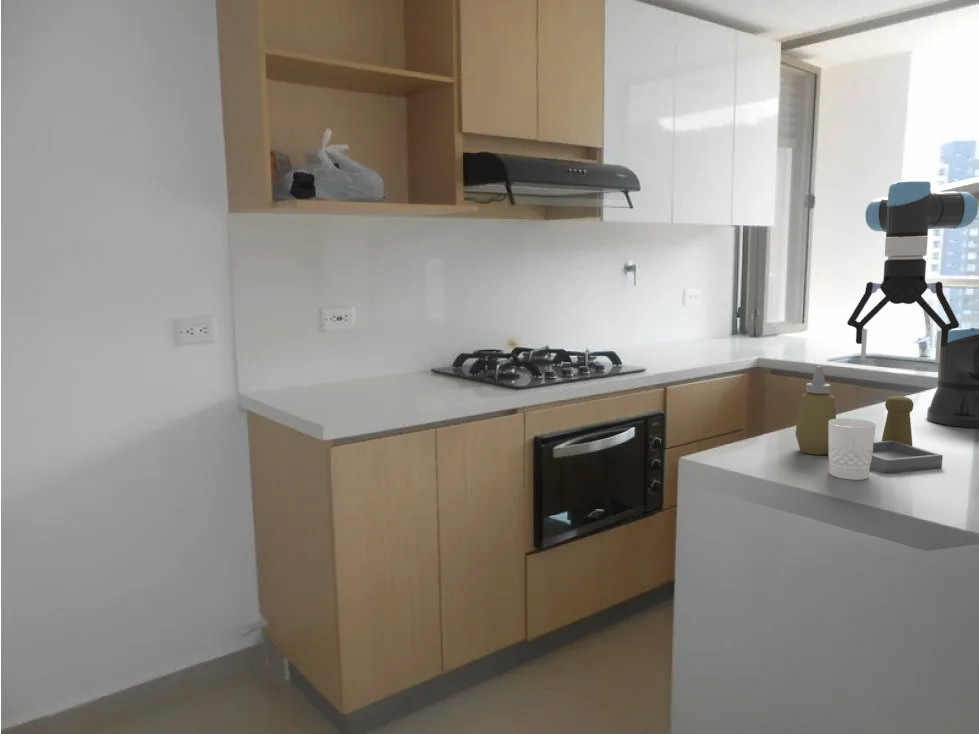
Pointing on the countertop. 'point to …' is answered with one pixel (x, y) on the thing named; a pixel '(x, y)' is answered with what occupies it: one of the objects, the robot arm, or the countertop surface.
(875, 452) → the tray
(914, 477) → the countertop surface
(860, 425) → the white cup
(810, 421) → the squeeze bottle
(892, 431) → the cork
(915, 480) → the countertop surface
